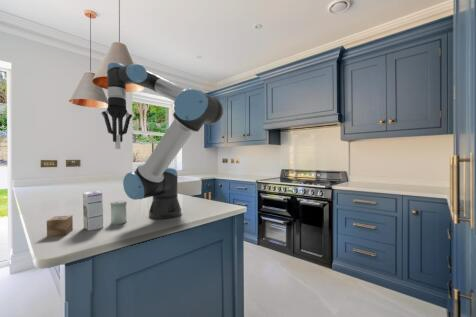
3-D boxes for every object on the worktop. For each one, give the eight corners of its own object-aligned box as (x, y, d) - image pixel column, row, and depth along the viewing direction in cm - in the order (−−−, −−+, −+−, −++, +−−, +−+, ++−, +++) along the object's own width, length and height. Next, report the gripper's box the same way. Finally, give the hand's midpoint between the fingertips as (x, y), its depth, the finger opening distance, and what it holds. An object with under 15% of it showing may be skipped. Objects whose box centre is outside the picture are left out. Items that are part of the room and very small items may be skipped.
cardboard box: (72, 230, 91) (72, 215, 91) (66, 235, 85) (66, 219, 85) (54, 232, 89) (54, 216, 89) (46, 237, 83) (46, 220, 83)
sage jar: (129, 220, 105) (129, 200, 104) (122, 224, 98) (121, 203, 98) (116, 220, 105) (115, 200, 105) (107, 224, 98) (107, 203, 98)
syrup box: (103, 227, 94) (103, 192, 94) (87, 231, 90) (86, 193, 89) (99, 224, 98) (98, 190, 98) (82, 228, 93) (82, 192, 93)
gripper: (129, 101, 115) (129, 149, 115) (99, 97, 106) (99, 149, 106) (134, 99, 109) (135, 149, 110) (103, 94, 100) (104, 148, 101)
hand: (117, 148), depth 108 cm, fingers closed
